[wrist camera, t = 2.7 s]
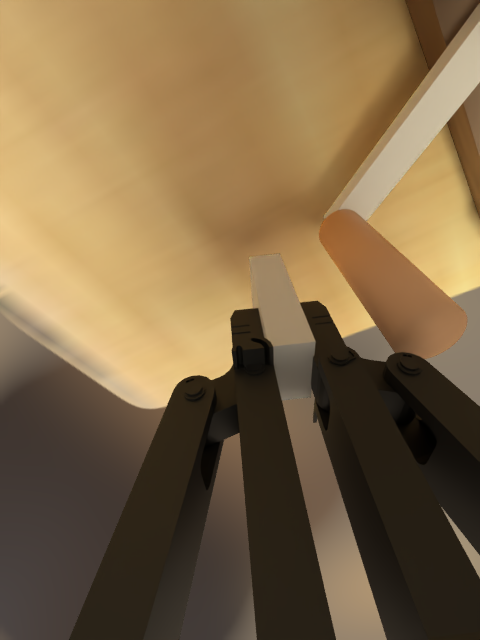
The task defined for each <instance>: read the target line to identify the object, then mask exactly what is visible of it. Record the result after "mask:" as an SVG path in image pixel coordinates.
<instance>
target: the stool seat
mask: <svg viewBox="0 0 480 640" xmlns="http://www.w3.org/2000/svg"><path fill="white" fill-rule="evenodd" d="M406 3H407V6H408V9H409V11H410V14H411V17H412V20H413V23H414V26H415V29H416V32H417V35H418V38H419V41H420V44H421V47H422V50H423V53H424V55H425V58H426V61H427V64H428V67H429V70H431V69H432V67H433V66H434V65H435V63H436V62H437V60H438V59H439V58H440V56H441V55H442V54H443V52H444V51H445V50H446V48H447V47H448V45H449V44H450V43H451V41H452V40H453V39H454V37H455V36H456V34H457V33H458V32H459V30H460V29H461V28H462V26H463V25H464V24H465V22H466V21H467V19H468V18H469V17H470V15H471V14H472V13H473V11H474V10H475V8H476V7H477V6H478V4H479V3H480V0H406ZM447 123H448V126H449V129H450V132H451V135H452V138H453V141H454V144H455V146H456V149H457V152H458V155H459V158H460V161H461V164H462V167H463V170H464V173H465V176H466V179H467V182H468V185H469V188H470V190H471V193H472V196H473V199H474V202H475V205H476V208H477V211H478V214H479V217H480V82H479V84H478V85H477V86H476V87H475V89H474V90H473V91H472V92H471V93H470V95H469V96H468V97H467V98H466V100H465V101H464V102H463V103H462V105H461V106H460V107H459V108H458V109H457V111H456V112H455V113H454V114H453V116H452V117H451V118H450V119H449V120H448V122H447Z"/></svg>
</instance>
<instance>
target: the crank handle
mask: <svg viewBox="0 0 480 640" xmlns="http://www.w3.org/2000/svg"><path fill="white" fill-rule="evenodd" d="M479 82H480V3H479V4H478V6H477V7H476V8H475V10H474V11H473V13H472V14H471V15H470V17H469V18H468V19H467V21H466V22H465V24H464V25H463V26H462V28H461V29H460V30H459V32H458V33H457V34H456V36H455V37H454V39H453V40H452V41H451V43H450V44H449V45H448V47H447V48H446V50H445V51H444V52H443V54H442V55H441V56H440V58H439V59H438V60H437V62H436V63H435V65H434V66H433V67H432V69H431V70H430V71H429V73H428V74H427V75H426V77H425V78H424V80H423V81H422V82H421V84H420V85H419V86H418V88H417V89H416V91H415V92H414V93H413V95H412V96H411V97H410V99H409V100H408V101H407V103H406V104H405V106H404V107H403V108H402V110H401V111H400V112H399V114H398V115H397V117H396V118H395V119H394V121H393V122H392V123H391V125H390V126H389V127H388V129H387V130H386V132H385V133H384V134H383V136H382V137H381V138H380V140H379V141H378V143H377V144H376V145H375V147H374V148H373V149H372V151H371V152H370V153H369V155H368V156H367V158H366V159H365V160H364V162H363V163H362V164H361V166H360V167H359V169H358V170H357V171H356V173H355V174H354V175H353V177H352V178H351V179H350V181H349V182H348V184H347V185H346V186H345V188H344V189H343V190H342V192H341V193H340V195H339V196H338V197H337V199H336V200H335V201H334V203H333V204H332V205H331V207H330V208H329V210H328V211H327V212H326V214H325V215H324V216H323V217H324V219H325V220H324V221H323V223H322V225H321V227H320V231H319V238H320V242H321V243H322V245H323V246H324V248H325V249H326V251H327V252H328V254H329V255H330V257H331V258H332V260H333V261H334V263H335V264H336V266H337V267H338V269H339V270H340V272H341V273H342V275H343V276H344V278H345V279H346V281H347V282H348V284H349V285H350V287H351V288H352V290H353V291H354V293H355V294H356V295H357V297H358V298H359V300H360V301H361V303H362V304H363V306H364V307H365V309H366V310H367V312H368V313H369V315H370V316H371V318H372V319H373V321H374V322H375V324H376V325H377V327H378V328H379V330H380V331H381V332H382V334H383V336H384V337H385V339H386V340H387V341H388V343H389V344H390V346H391V347H392V349H393V350H394V352H395V353H399V352H405V353H412V354H415V355H417V356H420V357H421V358H423V359H427V358H431V357H434V356H436V355H438V354H440V353H442V352H444V351H446V350H447V349H449V348H450V347H451V346H453V345H454V344H455V343H456V342H457V341H458V340H459V339H460V337H461V336H462V335H463V333H464V331H465V329H466V326H467V315H466V313H465V312H464V310H463V309H462V308H461V307H460V306H458V305H457V304H456V303H455V302H454V301H453V300H452V299H451V298H450V297H449V296H448V295H446V294H445V293H444V292H443V291H442V290H441V289H440V288H439V287H438V286H437V285H435V284H434V283H433V282H432V281H431V280H430V279H429V278H428V277H427V276H426V275H424V274H423V273H422V272H421V271H420V270H419V269H418V268H417V267H416V266H415V265H413V264H412V263H411V262H410V261H409V260H408V259H407V258H406V257H405V256H404V255H402V254H401V253H400V252H399V251H398V250H397V249H396V248H395V247H394V246H393V245H391V244H390V243H389V242H388V241H387V240H386V239H385V238H384V237H383V236H382V235H380V234H379V233H378V232H377V231H376V230H375V229H374V228H373V227H372V226H371V225H369V224H368V223H367V222H366V221H367V220H368V219H369V217H370V216H371V215H372V214H373V213H374V211H375V210H376V209H377V208H378V206H379V205H380V204H381V203H382V202H383V200H384V199H385V198H386V197H387V195H388V194H389V193H390V192H391V190H392V189H393V188H394V187H395V186H396V184H397V183H398V182H399V181H400V179H401V178H402V177H403V176H404V175H405V173H406V172H407V171H408V170H409V168H410V167H411V166H412V165H413V163H414V162H415V161H416V160H417V159H418V157H419V156H420V155H421V154H422V152H423V151H424V150H425V149H426V148H427V146H428V145H429V144H430V143H431V141H432V140H433V139H434V138H435V136H436V135H437V134H438V133H439V132H440V130H441V129H442V128H443V127H444V125H445V124H446V123H447V122H448V120H449V119H450V118H451V117H452V116H453V114H454V113H455V112H456V111H457V109H458V108H459V107H460V106H461V105H462V103H463V102H464V101H465V100H466V98H467V97H468V96H469V95H470V93H471V92H472V91H473V90H474V89H475V87H476V86H477V85H478V84H479Z"/></svg>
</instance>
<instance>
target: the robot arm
mask: <svg viewBox="0 0 480 640" xmlns="http://www.w3.org/2000/svg"><path fill="white" fill-rule="evenodd" d="M249 262H250V277H251V292H252V305H253V309H244V310H235V311H234V313H233V315H232V316H231V318H230V319H231V331H232V343H233V348H232V357H233V366H232V368H231V369H230V370H229V371H228V372H227V373H226V374H225V375H223V376H221V377H219V378H216V379H214V380H210V379H208V378H207V377H204V376H200V375H199V376H190V377H188V378H185V379H183V380H182V381H181V382H179V383H178V384H177V386H176V387H175V389H174V390H173V393H172V395H171V398H170V400H169V402H168V405H167V407H166V410H165V412H164V415H163V417H162V419H161V422H160V424H159V427H158V429H157V431H156V434H155V436H154V438H153V441H152V443H151V446H150V448H149V450H148V452H147V455H146V457H145V460H144V462H143V464H142V467H141V469H140V471H139V474H138V476H137V479H136V481H135V483H134V486H133V488H132V491H131V493H130V495H129V498H128V500H127V502H126V505H125V507H124V510H123V512H122V515H121V517H120V519H119V522H118V524H117V526H116V529H115V532H114V533H113V536H112V538H111V541H110V543H109V545H108V548H107V550H106V553H105V555H104V557H103V560H102V562H101V564H100V567H99V569H98V572H97V574H96V577H95V579H94V581H93V584H92V586H91V588H90V591H89V593H88V595H87V598H86V600H85V603H84V605H83V607H82V610H81V612H80V615H79V617H78V620H77V622H76V625H75V627H74V629H73V631H72V634H71V636H70V639H69V640H179V638H180V634H181V629H182V625H183V620H184V616H185V611H186V606H187V602H188V598H189V594H190V589H191V584H192V580H193V576H194V571H195V567H196V562H197V558H198V553H199V549H200V545H201V540H202V536H203V531H204V527H205V522H206V518H207V513H208V509H209V504H210V500H211V496H212V491H213V486H214V482H215V478H216V473H217V469H218V464H219V460H220V455H221V451H222V446H223V442H224V439H226V438H228V437H231V436H233V435H235V434H237V433H240V443H241V456H242V468H243V480H244V492H245V504H246V516H247V527H248V539H249V550H250V563H251V574H252V587H253V597H254V609H255V622H256V633H257V640H336V637H335V633H334V629H333V624H332V620H331V615H330V611H329V607H328V602H327V598H326V593H325V589H324V584H323V580H322V576H321V571H320V567H319V562H318V558H317V554H316V549H315V545H314V540H313V536H312V532H311V527H310V523H309V518H308V514H307V510H306V505H305V501H304V497H303V492H302V487H301V483H300V479H299V474H298V470H297V466H296V461H295V457H294V452H293V448H292V444H291V439H290V435H289V430H288V426H287V421H286V417H285V413H284V408H283V404H282V400H290V399H298V398H308V397H311V389H312V391H313V394H314V397H315V403H314V413H313V422H314V423H315V422H316V421H317V419H318V421H319V425H320V428H321V431H322V435H323V438H324V441H325V444H326V447H327V450H328V454H329V457H330V460H331V463H332V466H333V469H334V473H335V476H336V479H337V482H338V485H339V489H340V491H341V495H342V498H343V501H344V504H345V508H346V511H347V514H348V517H349V520H350V523H351V527H352V530H353V533H354V536H355V539H356V542H357V546H358V549H359V552H360V555H361V558H362V562H363V564H364V568H365V571H366V574H367V578H368V581H369V584H370V587H371V590H372V593H373V597H374V600H375V603H376V606H377V609H378V612H379V616H380V619H381V622H382V625H383V628H384V632H385V635H386V638H387V640H480V578H479V576H478V575H477V573H476V571H475V569H474V567H473V565H472V563H471V562H470V560H469V558H468V556H467V554H466V552H465V551H464V549H463V547H462V545H461V543H460V541H459V539H458V538H457V536H456V534H455V532H454V530H453V528H452V526H451V525H450V523H449V521H448V519H447V517H446V515H445V514H444V512H443V510H442V508H443V509H444V510H445V511H446V513H447V514H448V516H449V517H450V518H451V519H452V521H453V522H454V523H455V524H456V525H457V527H458V528H459V529H460V531H461V532H462V533H463V534H464V536H465V537H466V538H467V539H468V541H469V542H470V543H471V545H472V546H473V547H474V548H475V550H476V551H477V552H478V554H479V555H480V406H478V405H477V404H476V403H475V402H474V401H472V400H471V399H470V398H469V397H468V396H467V395H466V394H465V393H463V392H462V391H461V390H460V389H459V388H458V387H456V386H455V385H454V384H453V383H452V382H451V381H449V380H448V379H447V378H446V377H445V376H444V375H442V374H441V373H440V372H439V371H438V370H437V369H435V368H434V367H433V366H432V365H430V363H428V362H427V361H426V360H424V359H423V358H421V357H420V356H417V355H415V354H412V353H405V352H399V353H394V354H392V355H390V356H389V357H388V359H387V361H386V362H381V361H374V360H368V359H363V358H361V357H360V356H359V355H358V354H357V353H356V352H355V351H354V350H353V349H351V348H349V347H347V346H346V345H345V343H344V341H343V339H342V337H341V335H340V333H339V331H338V329H337V328H336V326H335V324H334V323H333V320H332V318H331V317H330V314H329V312H328V310H327V308H326V307H325V306H324V305H322V304H321V303H320V302H318V301H311V302H302V303H300V302H299V300H298V297H297V295H296V292H295V290H294V287H293V285H292V282H291V280H290V277H289V275H288V272H287V270H286V268H285V265H284V263H283V260H282V258H281V255H280V254H270V255H261V256H251V257H249ZM440 505H441V506H440ZM441 507H442V508H441Z"/></svg>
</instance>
